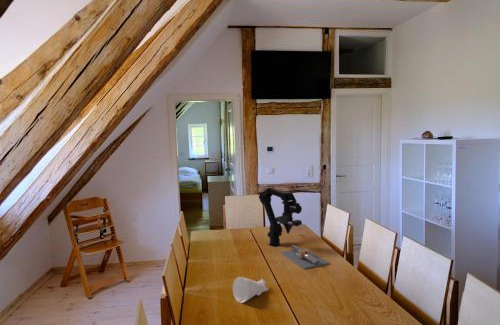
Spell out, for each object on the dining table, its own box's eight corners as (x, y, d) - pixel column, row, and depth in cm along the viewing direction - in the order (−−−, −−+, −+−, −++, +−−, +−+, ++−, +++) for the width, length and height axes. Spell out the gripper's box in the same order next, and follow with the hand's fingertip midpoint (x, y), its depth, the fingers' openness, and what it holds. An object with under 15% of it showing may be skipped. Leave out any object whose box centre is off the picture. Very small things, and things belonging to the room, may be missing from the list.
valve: (289, 251, 216) (289, 244, 216) (297, 250, 218) (297, 243, 218) (311, 266, 192) (311, 258, 192) (320, 264, 195) (320, 256, 194)
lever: (294, 253, 204) (304, 251, 194) (298, 253, 205) (308, 250, 195) (295, 257, 203) (305, 254, 193) (299, 256, 204) (308, 254, 194)
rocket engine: (267, 269, 167) (242, 272, 155) (278, 290, 160) (251, 294, 148) (255, 281, 172) (229, 285, 160) (265, 302, 165) (238, 307, 153)
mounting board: (281, 253, 215) (281, 252, 215) (303, 249, 222) (304, 247, 222) (304, 269, 189) (304, 267, 189) (329, 264, 196) (329, 262, 196)
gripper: (269, 211, 218) (269, 233, 219) (292, 215, 205) (292, 239, 207) (279, 208, 226) (279, 229, 228) (302, 212, 214) (302, 234, 215)
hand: (288, 233), depth 219 cm, fingers closed
